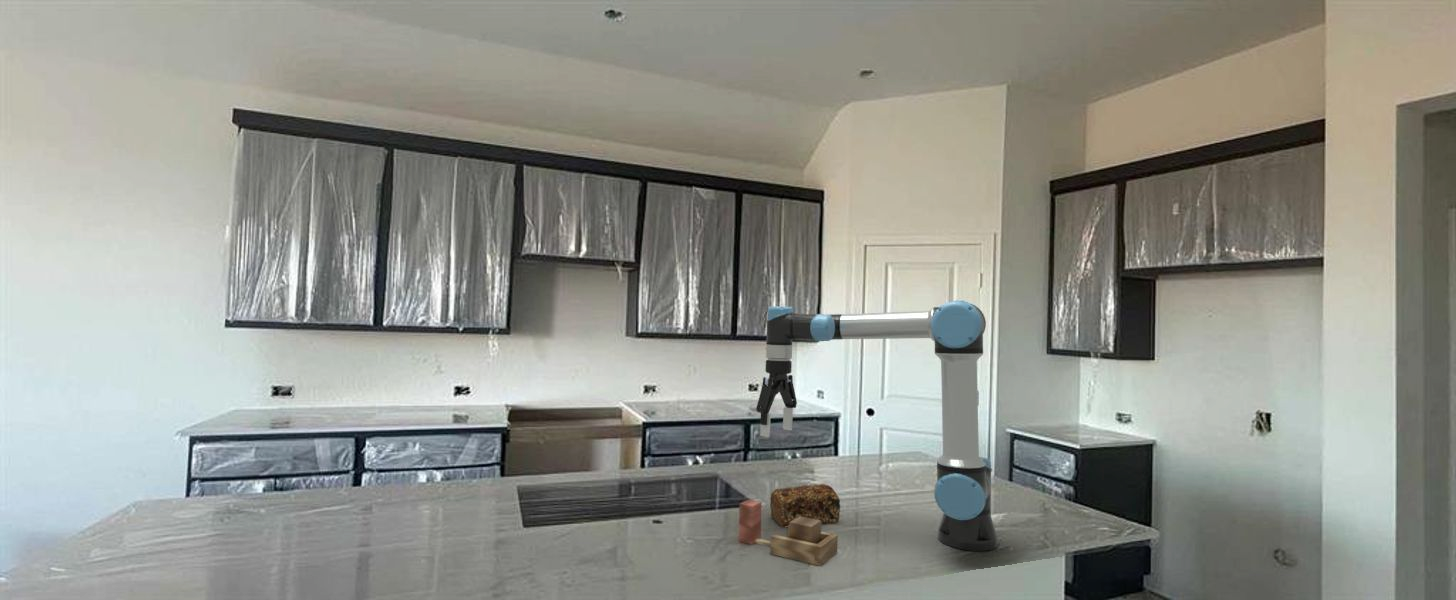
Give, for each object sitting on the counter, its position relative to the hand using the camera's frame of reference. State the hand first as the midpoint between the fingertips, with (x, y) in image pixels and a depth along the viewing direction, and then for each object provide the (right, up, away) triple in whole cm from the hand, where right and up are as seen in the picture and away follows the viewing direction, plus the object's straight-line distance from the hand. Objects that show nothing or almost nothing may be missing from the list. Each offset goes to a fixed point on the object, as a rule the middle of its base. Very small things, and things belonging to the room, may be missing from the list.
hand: (776, 433), depth 184 cm
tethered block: (-1, -26, -19) cm, 32 cm away
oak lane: (+5, -26, -22) cm, 34 cm away
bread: (+9, -27, +3) cm, 28 cm away
